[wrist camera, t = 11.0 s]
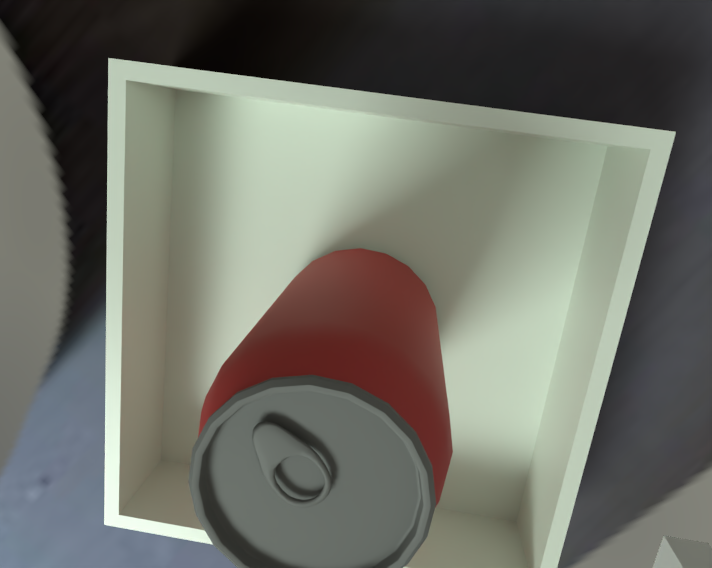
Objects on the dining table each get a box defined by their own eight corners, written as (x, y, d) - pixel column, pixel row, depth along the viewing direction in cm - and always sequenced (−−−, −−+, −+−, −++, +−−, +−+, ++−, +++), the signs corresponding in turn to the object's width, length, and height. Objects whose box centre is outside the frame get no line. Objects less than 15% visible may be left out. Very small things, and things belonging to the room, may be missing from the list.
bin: (168, 72, 23) (108, 58, 18) (622, 132, 22) (676, 131, 17) (154, 461, 27) (104, 524, 23) (524, 526, 26) (546, 605, 22)
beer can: (381, 213, 23) (347, 297, 11) (467, 344, 24) (518, 544, 12) (253, 298, 24) (106, 449, 13) (339, 417, 25) (277, 657, 14)
